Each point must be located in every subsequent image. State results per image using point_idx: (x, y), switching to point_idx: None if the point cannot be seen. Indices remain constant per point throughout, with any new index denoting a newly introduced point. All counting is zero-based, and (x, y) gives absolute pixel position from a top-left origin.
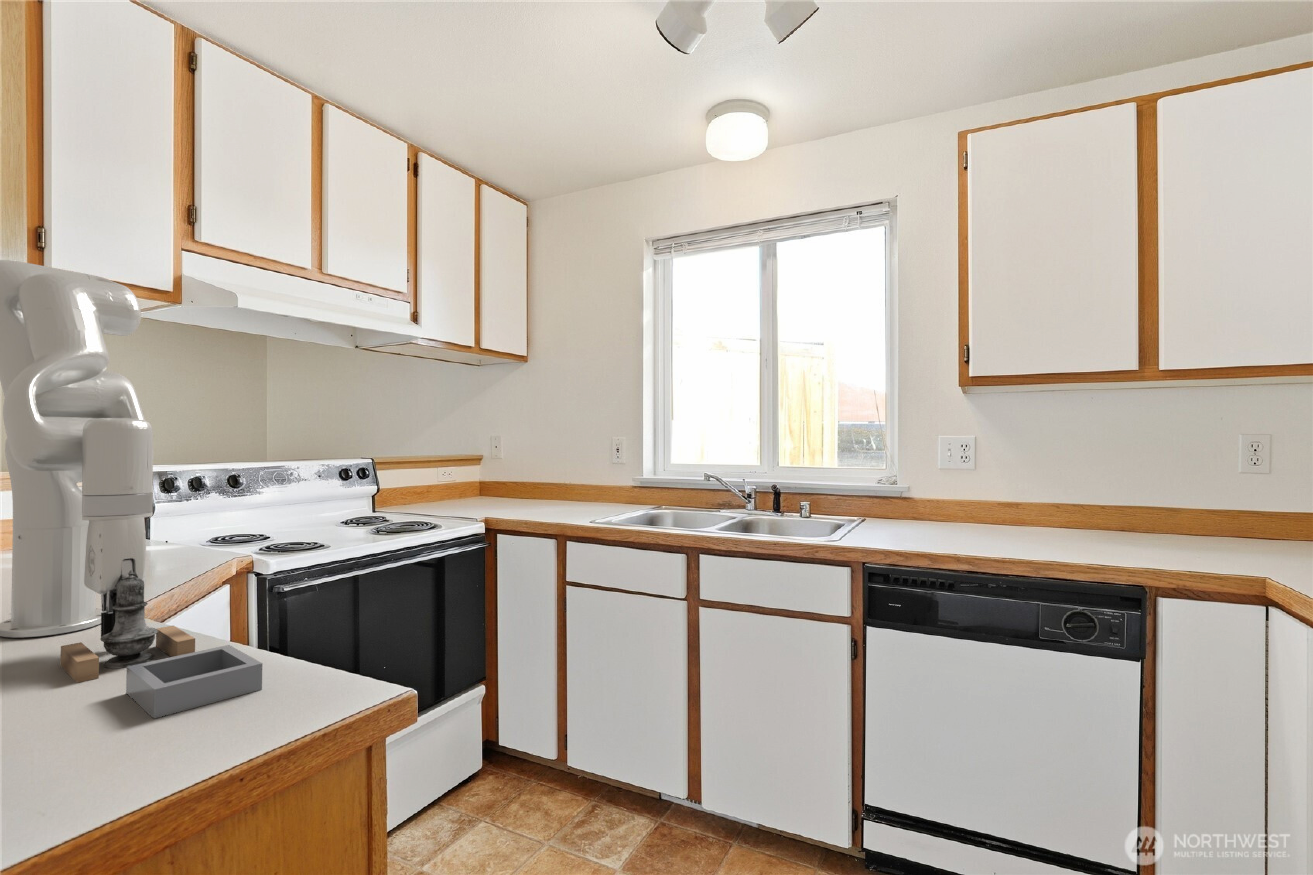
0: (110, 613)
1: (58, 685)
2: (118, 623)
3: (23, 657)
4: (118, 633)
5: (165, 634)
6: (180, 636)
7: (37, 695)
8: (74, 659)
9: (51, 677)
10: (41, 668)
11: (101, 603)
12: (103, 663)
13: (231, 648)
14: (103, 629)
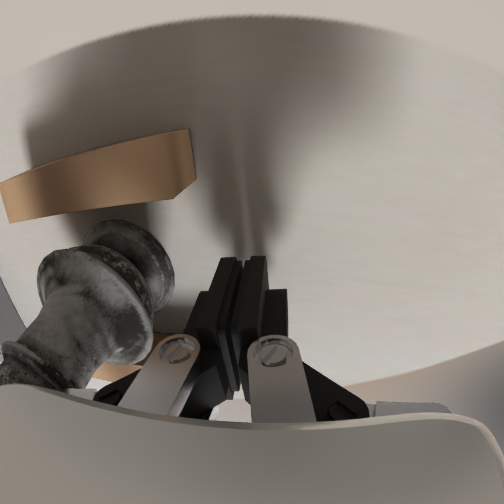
0: (170, 344)
1: (35, 137)
2: (39, 314)
3: (389, 56)
4: (47, 293)
5: (138, 365)
6: (105, 370)
7: (8, 111)
8: (16, 176)
9: (90, 115)
10: (196, 82)
11: (302, 366)
12: (127, 223)
13: (3, 360)
14: (219, 282)
